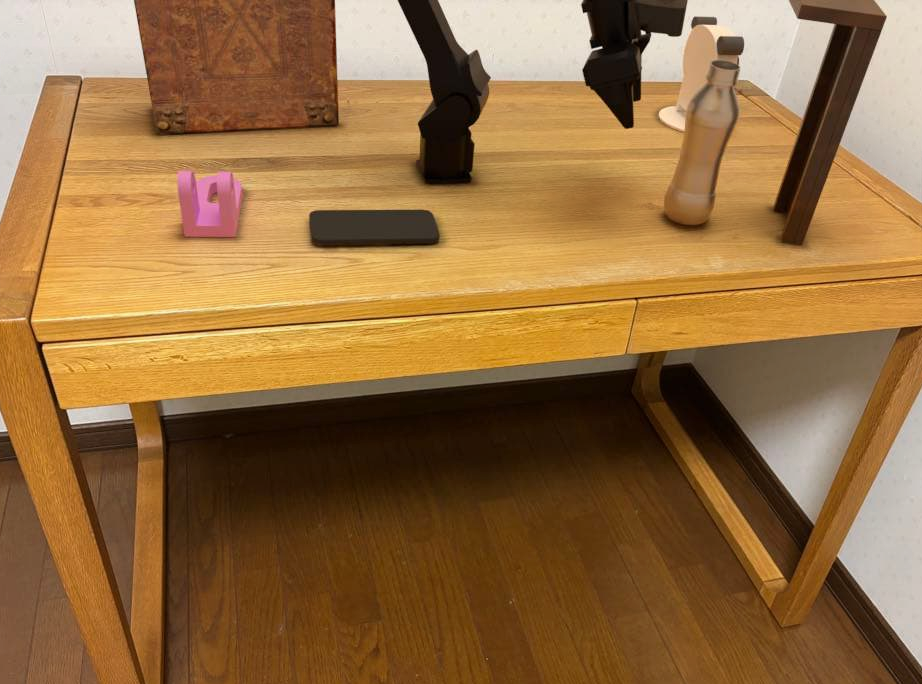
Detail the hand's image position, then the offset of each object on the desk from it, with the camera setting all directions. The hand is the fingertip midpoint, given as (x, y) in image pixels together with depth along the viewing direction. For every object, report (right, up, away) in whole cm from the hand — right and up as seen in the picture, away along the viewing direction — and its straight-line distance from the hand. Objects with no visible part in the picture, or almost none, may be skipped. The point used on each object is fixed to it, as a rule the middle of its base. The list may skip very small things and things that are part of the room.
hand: (633, 113), depth 106 cm
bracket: (-51, -13, -4) cm, 53 cm away
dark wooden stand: (+18, -12, +7) cm, 23 cm away
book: (-54, +5, +17) cm, 57 cm away
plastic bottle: (+8, -12, +6) cm, 16 cm away
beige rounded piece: (+15, +10, +33) cm, 38 cm away
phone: (-32, -16, -5) cm, 36 cm away
